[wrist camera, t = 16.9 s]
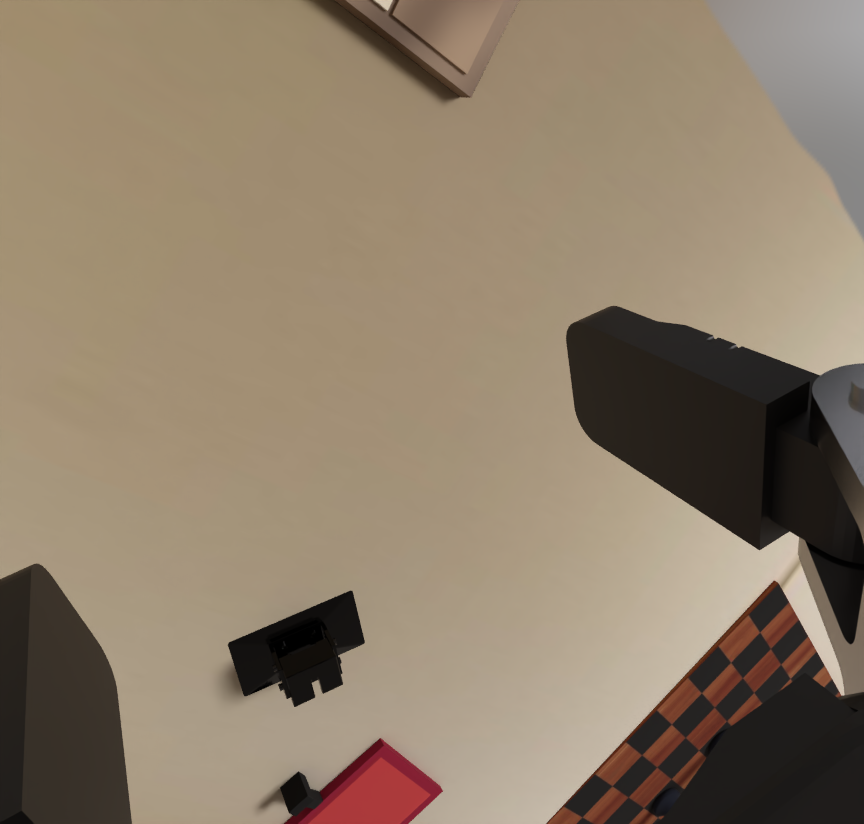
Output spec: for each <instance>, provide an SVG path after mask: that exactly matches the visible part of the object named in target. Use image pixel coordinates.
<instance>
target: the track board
mask: <svg viewBox="0 0 864 824" xmlns="http://www.w3.org/2000/svg"><path fill="white" fill-rule="evenodd" d="M335 1H336V2H337V3H339V4H340V5H341V6H343V7H344V8H345V9H346V10H348V11H349V12H350V13H352V14H353V15H354V16H356V17H357V18H358V19H359V20H361V21H362V22H363V23H365V24H366V25H367V26H369V27H370V28H371V29H373V30H374V31H375V32H376V33H378V34H379V35H380V36H382V37H383V38H384V39H386V40H387V41H388V42H389V43H391V44H392V45H393V46H395V47H396V48H397V49H399V50H400V51H401V52H403V53H404V54H405V55H406V56H408V57H409V58H410V59H412V60H413V61H414V62H416V63H417V64H418V65H419V66H421V67H422V68H423V69H425V70H426V71H427V72H429V73H430V74H431V75H432V76H434V77H435V78H436V79H438V80H439V81H440V82H442V83H443V84H444V85H446V86H447V87H448V88H449V89H451V90H452V91H453V92H455V93H456V94H457V95H459V96H460V97H472V95H473V93H474V91H475V89H476V87H477V85H478V83H479V81H480V79H481V77H482V75H483V73H484V71H485V69H486V67H487V65H488V63H489V61H490V59H491V57H492V55H493V53H494V51H495V49H496V47H497V45H498V43H499V41H500V39H501V37H502V35H503V33H504V31H505V29H506V27H507V25H508V23H509V21H510V19H511V17H512V15H513V13H514V11H515V9H516V7H517V5H518V3H519V1H520V0H335Z"/></svg>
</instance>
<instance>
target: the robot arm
mask: <svg viewBox="0 0 864 824" xmlns="http://www.w3.org/2000/svg"><path fill="white" fill-rule="evenodd" d="M566 342H567V350H568V358H569V366H570V374H571V382H572V390H573V398H574V406H575V412H576V415H577V418H578V421H579V423H580V425H581V427H582V428H583V430H584V431H585V433H586V434H587V435H588V437H589V438H590V439H591V440H592V441H593V442H595V443H596V444H598V445H599V446H601V447H602V448H604V449H605V450H607V451H608V452H610V453H611V454H613V455H614V456H616V457H618V458H619V459H621V460H622V461H624V462H625V463H627V464H628V465H630V466H631V467H633V468H634V469H636V470H637V471H639V472H640V473H642V474H644V475H645V476H647V477H648V478H650V479H651V480H653V481H654V482H656V483H657V484H659V485H660V486H662V487H663V488H665V489H667V490H668V491H670V492H671V493H673V494H674V495H676V496H677V497H679V498H680V499H682V500H683V501H685V502H686V503H688V504H689V505H691V506H693V507H694V508H696V509H697V510H699V511H700V512H702V513H703V514H705V515H706V516H708V517H709V518H711V519H712V520H714V521H716V522H717V523H719V524H720V525H722V526H723V527H725V528H726V529H728V530H729V531H731V532H732V533H734V534H735V535H737V536H738V537H740V538H742V539H743V540H745V541H746V542H748V543H749V544H751V545H752V546H754V547H755V548H757V549H758V550H761V549H762V548H764V547H765V546H767V545H769V544H770V543H772V542H773V541H775V540H777V539H778V538H780V537H781V536H783V535H784V534H786V533H788V532H789V531H790V532H792V533H793V534H795V535H797V536H798V537H799V545H798V555H799V559H800V562H801V565H802V567H803V570H804V573H805V575H806V578H807V581H808V583H809V586H810V589H811V591H812V594H813V597H814V599H815V602H816V605H817V607H818V610H819V613H820V615H821V618H822V620H823V623H824V626H825V628H826V631H827V634H828V636H829V639H830V642H831V644H832V647H833V650H834V652H835V655H836V658H837V660H838V663H839V666H840V670H841V674H842V678H843V684H844V692H845V695H844V696H840V697H836V696H835V695H833V694H832V693H831V692H829V691H828V690H827V689H826V688H824V687H823V686H822V685H820V684H819V683H818V682H817V681H815V680H814V679H813V678H811V677H810V676H809V675H808V674H806V673H804V674H802V675H801V676H800V677H798V678H797V679H796V680H794V681H793V682H791V683H790V684H789V685H787V686H786V687H785V688H783V689H782V690H780V691H779V692H778V693H776V694H775V695H774V696H772V697H771V698H769V699H768V700H767V701H765V702H764V703H763V704H761V705H760V706H758V707H757V708H756V709H754V710H753V711H752V712H750V713H749V714H747V715H746V716H745V717H743V718H742V719H740V720H739V721H738V722H736V723H735V724H734V725H732V726H731V727H729V728H728V729H727V730H726V731H725V733H724V734H723V736H722V737H721V738H720V740H719V741H718V743H717V744H716V745H715V747H714V748H713V750H712V751H711V752H710V754H709V755H708V757H707V758H706V759H705V761H704V762H703V764H702V765H701V766H700V768H699V769H698V771H697V772H696V774H695V775H694V776H693V778H692V779H691V781H690V782H689V783H688V785H687V786H686V788H685V789H684V790H683V792H682V793H681V795H680V796H679V797H678V799H677V800H676V802H675V803H674V804H673V806H672V807H671V809H670V810H669V811H668V813H667V814H666V815H665V816H664V817H663V818H662V819H661V820H659V821H658V822H657V823H655V824H864V363H862V364H852V365H846V366H842V367H838V368H835V369H832V370H829V371H827V372H825V373H824V374H822V375H821V376H820V375H817V374H814V373H812V372H809V371H806V370H804V369H801V368H798V367H796V366H793V365H790V364H788V363H785V362H782V361H780V360H777V359H774V358H772V357H769V356H766V355H764V354H761V353H758V352H756V351H753V350H750V349H748V348H745V347H740V348H738V347H737V346H736V344H734V343H732V342H729V341H726V340H724V339H721V338H717V339H714V337H713V335H710V334H708V333H705V332H702V331H700V330H697V329H694V328H692V327H689V326H686V325H680V324H672V323H665V322H657V321H654V320H652V319H649V318H647V317H644V316H641V315H639V314H636V313H634V312H631V311H629V310H626V309H623V308H621V307H618V306H610V307H608V308H605V309H603V310H601V311H599V312H597V313H594V314H592V315H590V316H588V317H585V318H583V319H581V320H579V321H577V322H574V323H573V324H571V325H570V326H569V328H568V330H567V335H566ZM0 824H132V820H131V811H130V802H129V793H128V784H127V775H126V766H125V757H124V748H123V739H122V730H121V721H120V712H119V703H118V694H117V687H116V682H115V678H114V675H113V672H112V669H111V667H110V664H109V662H108V659H107V657H106V655H105V653H104V651H103V650H102V648H101V646H100V644H99V643H98V641H97V640H96V639H95V637H94V636H93V634H92V633H91V631H90V630H89V629H88V627H87V626H86V624H85V623H84V621H83V620H82V619H81V617H80V616H79V614H78V613H77V611H76V610H75V609H74V607H73V606H72V604H71V603H70V601H69V600H68V599H67V597H66V596H65V594H64V593H63V592H62V590H61V589H60V587H59V586H58V584H57V583H56V582H55V580H54V579H53V577H52V576H51V575H50V573H49V572H48V571H47V570H46V569H45V568H44V567H43V566H41V565H40V564H33V565H31V566H29V567H27V568H24V569H22V570H20V571H18V572H15V573H13V574H11V575H9V576H7V577H4V578H2V579H0Z"/></svg>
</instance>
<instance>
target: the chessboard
mask: <svg viewBox="0 0 864 824" xmlns="http://www.w3.org/2000/svg"><path fill="white" fill-rule="evenodd" d="M804 673H806V674H808V675H809V676H810V677H811V678H813V679H814V680H815V681H817V682H818V683H819V684H820V685H822V686H823V687H824V688H826V689H827V690H828V691H829V692H831V693H832V694H833V695H835V696H836V697H840V696H841V694H840V692H839V691H838V689H837V687H836V685H835V683H834V682H833V680H832V678H831V676H830V675H829V673H828V671H827V669H826V667H825V666H824V664H823V662H822V660H821V658H820V657H819V655H818V653H817V651H816V649H815V648H814V646H813V644H812V642H811V641H810V639H809V637H808V635H807V633H806V632H805V630H804V628H803V626H802V624H801V623H800V621H799V619H798V617H797V616H796V614H795V612H794V610H793V608H792V607H791V605H790V603H789V601H788V599H787V598H786V596H785V594H784V592H783V590H782V589H781V587H780V585H779V584H778V583H777V582H776V581H773V582H772V583H771V585H770V586H769V587H768V588H767V589H766V590H765V591H764V592H763V593H762V594H761V595H760V596H759V597H758V598H757V599H756V601H755V602H754V603H753V604H752V605H751V606H750V607H749V608H748V609H747V610H746V611H745V612H744V613H743V614H742V615H741V617H740V618H739V619H738V620H737V621H736V622H735V623H734V624H733V625H732V626H731V627H730V628H729V629H728V630H727V631H726V633H725V634H724V635H723V636H722V637H721V638H720V639H719V640H718V641H717V642H716V643H715V644H714V645H713V646H712V647H711V649H710V650H709V651H708V652H707V653H706V654H705V655H704V656H703V657H702V658H701V659H700V660H699V661H698V662H697V663H696V665H695V666H694V667H693V668H692V669H691V670H690V671H689V672H688V673H687V674H686V675H685V676H684V677H683V678H682V679H681V681H680V682H679V683H678V684H677V685H676V686H675V687H674V688H673V689H672V690H671V691H670V692H669V693H668V694H667V695H666V697H665V698H664V699H663V700H662V701H661V702H660V703H659V704H658V705H657V706H656V707H655V708H654V709H653V710H652V711H651V713H650V714H649V715H648V716H647V717H646V718H645V719H644V720H643V721H642V722H641V723H640V724H639V725H638V726H637V727H636V729H635V730H634V731H633V732H632V733H631V734H630V735H629V736H628V737H627V738H626V739H625V740H624V741H623V742H622V743H621V745H620V746H619V747H618V748H617V749H616V750H615V751H614V752H613V753H612V754H611V755H610V756H609V757H608V758H607V759H606V761H605V762H604V763H603V764H602V765H601V766H600V767H599V768H598V769H597V770H596V771H595V772H594V773H593V774H592V775H591V777H590V778H589V779H588V780H587V781H586V782H585V783H584V784H583V785H582V786H581V787H580V788H579V789H578V790H577V791H576V793H575V794H574V795H573V796H572V797H571V798H570V799H569V800H568V801H567V802H566V803H565V804H564V805H563V806H562V807H561V809H560V810H559V811H558V812H557V813H556V814H555V815H554V816H553V817H552V818H551V819H550V820H549V821H548V822H547V823H546V824H655V823H657V822H658V821H659V820H661V819H662V818H663V817H664V816H665V815H666V814H667V813H668V811H669V810H670V809H671V807H672V806H673V804H674V803H675V802H676V800H677V799H678V797H679V796H680V795H681V793H682V792H683V790H684V789H685V788H686V786H687V785H688V783H689V782H690V781H691V779H692V778H693V776H694V775H695V774H696V772H697V771H698V769H699V768H700V766H701V765H702V764H703V762H704V761H705V759H706V758H707V757H708V755H709V754H710V752H711V751H712V750H713V748H714V747H715V745H716V744H717V743H718V741H719V740H720V738H721V737H722V736H723V734H724V733H725V731H726V730H727V729H728V728H729V727H731V726H732V725H734V724H735V723H736V722H738V721H739V720H740V719H742V718H743V717H745V716H746V715H747V714H749V713H750V712H752V711H753V710H754V709H756V708H757V707H758V706H760V705H761V704H763V703H764V702H765V701H767V700H768V699H769V698H771V697H772V696H774V695H775V694H776V693H778V692H779V691H780V690H782V689H783V688H785V687H786V686H787V685H789V684H790V683H791V682H793V681H794V680H796V679H797V678H798V677H800V676H801V675H802V674H804Z"/></svg>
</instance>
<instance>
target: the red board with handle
mask: <svg viewBox="0 0 864 824" xmlns="http://www.w3.org/2000/svg"><path fill="white" fill-rule="evenodd" d="M280 789H281V792H282V795H283V797H284V800H285V803H286V806H287V809H288V812H289V813H290V814H292V815H293V816H292V817H291V818H290V819H289V820H288V821H287V822H285V823H284V824H408V823H409V822H410V821H412V820H413V819H414V818H415V817H416V816H417V815H418V814H419V813H420V812H421V811H422V810H423V809H424V808H425V807H426V806H428V805H429V804H430V803H431V802H432V801H433V800H434V799H435V798H436V797H437V796H438V795H439V794H440V793H441V792H443V790H442V789H441V787H440V786H439V785H438V784H437V783H436V782H434V781H433V780H432V779H431V778H429V777H428V776H427V775H426V774H424V773H423V772H422V771H421V770H419V769H418V768H417V767H416V766H414V765H413V764H412V763H411V762H409V761H408V760H407V759H406V758H404V757H403V756H402V755H401V754H399V753H398V752H397V751H396V750H394V749H393V748H392V747H391V746H389V745H388V744H387V743H386V742H384V741H383V740H382V739H381V738H380V739H379V740H378V741H377V742H375V743H374V744H373V745H372V746H371V747H370V748H369V749H368V750H366V751H365V752H364V753H363V754H362V755H361V756H360V757H359V758H357V759H356V760H355V761H354V762H353V763H352V764H351V765H350V766H348V767H347V768H346V769H345V770H344V771H343V772H342V773H341V774H339V775H338V776H337V777H336V778H335V779H334V780H333V781H332V782H330V783H329V784H328V785H327V786H326V787H325V788H324V789H323V790H321V791H320V792H319V791H316V790H312V789H310V787H309V784H308V782H307V779H306V777H305V775H303V774H301V773H300V772H298V773H296V774H295V775H294V776H293V777H292V778H291V779H290V780H288V781H287V782H286V783H285V784H284V785H283V786H282V787H280Z"/></svg>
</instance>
